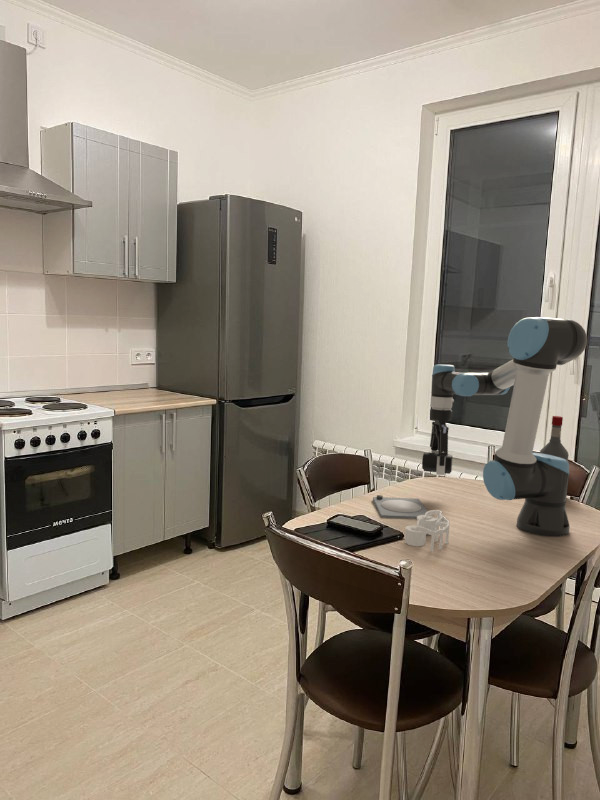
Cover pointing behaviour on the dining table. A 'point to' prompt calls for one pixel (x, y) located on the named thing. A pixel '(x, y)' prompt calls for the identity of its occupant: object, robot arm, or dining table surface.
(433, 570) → the dining table surface
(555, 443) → the liquor
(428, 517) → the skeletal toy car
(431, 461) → the end cap
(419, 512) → the plate
